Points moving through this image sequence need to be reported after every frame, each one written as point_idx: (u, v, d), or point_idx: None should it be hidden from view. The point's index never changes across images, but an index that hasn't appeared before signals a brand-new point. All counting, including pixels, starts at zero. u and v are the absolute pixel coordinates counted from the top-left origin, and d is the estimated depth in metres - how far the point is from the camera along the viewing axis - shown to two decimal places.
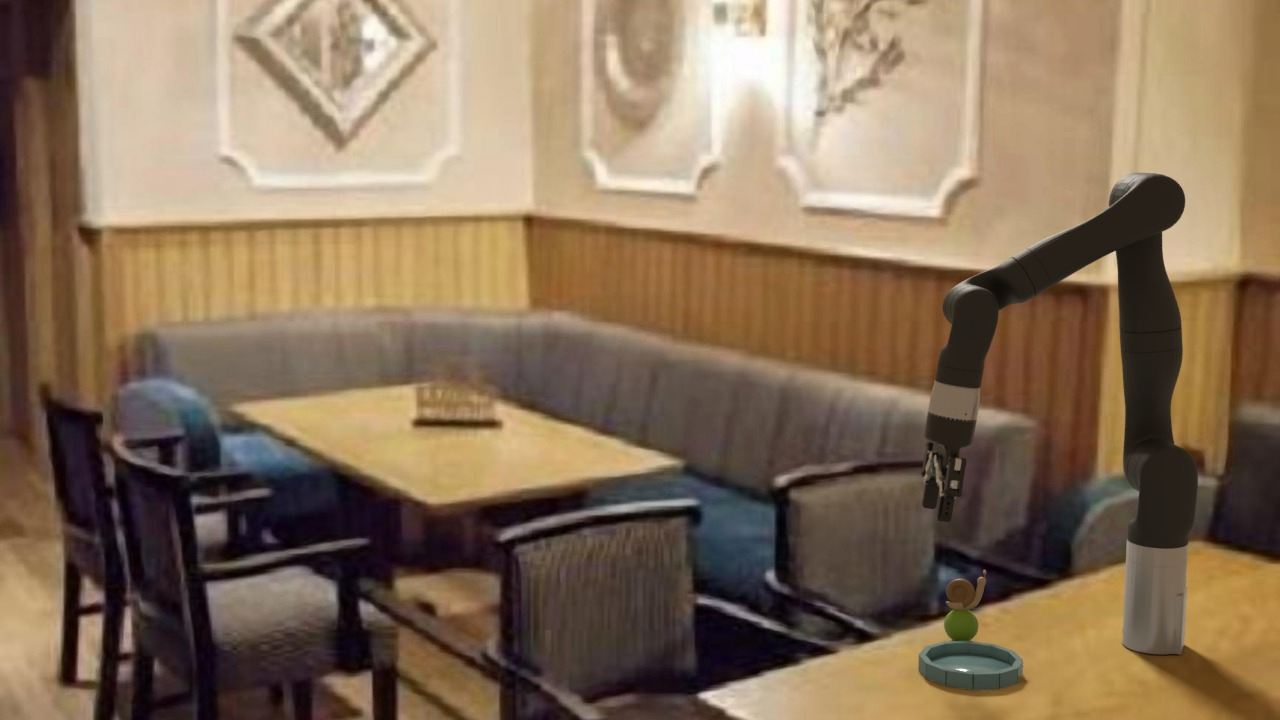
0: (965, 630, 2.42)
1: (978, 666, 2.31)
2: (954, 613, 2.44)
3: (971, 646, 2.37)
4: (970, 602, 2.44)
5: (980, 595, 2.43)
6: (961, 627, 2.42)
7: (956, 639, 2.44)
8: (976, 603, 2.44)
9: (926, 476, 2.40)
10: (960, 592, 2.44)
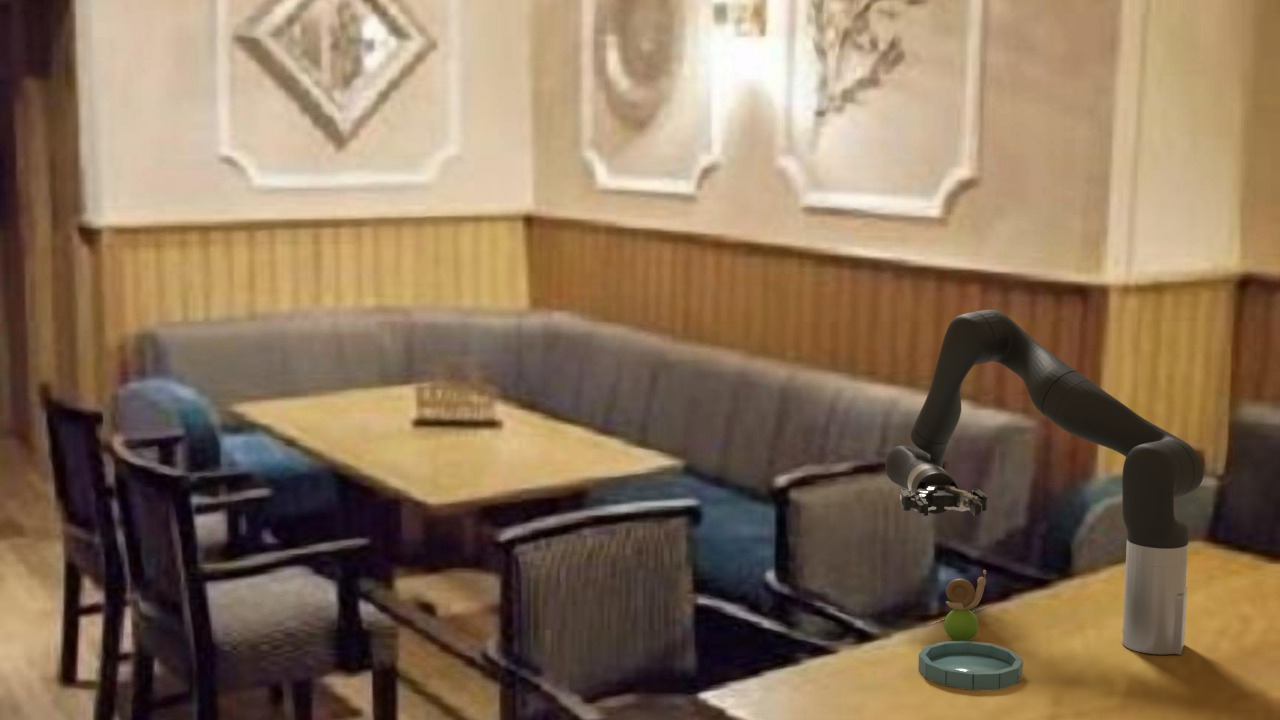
0: (965, 630, 2.42)
1: (978, 666, 2.31)
2: (954, 613, 2.44)
3: (971, 646, 2.37)
4: (970, 602, 2.44)
5: (980, 595, 2.43)
6: (961, 627, 2.42)
7: (956, 639, 2.44)
8: (976, 603, 2.44)
9: (969, 509, 2.59)
10: (960, 592, 2.44)
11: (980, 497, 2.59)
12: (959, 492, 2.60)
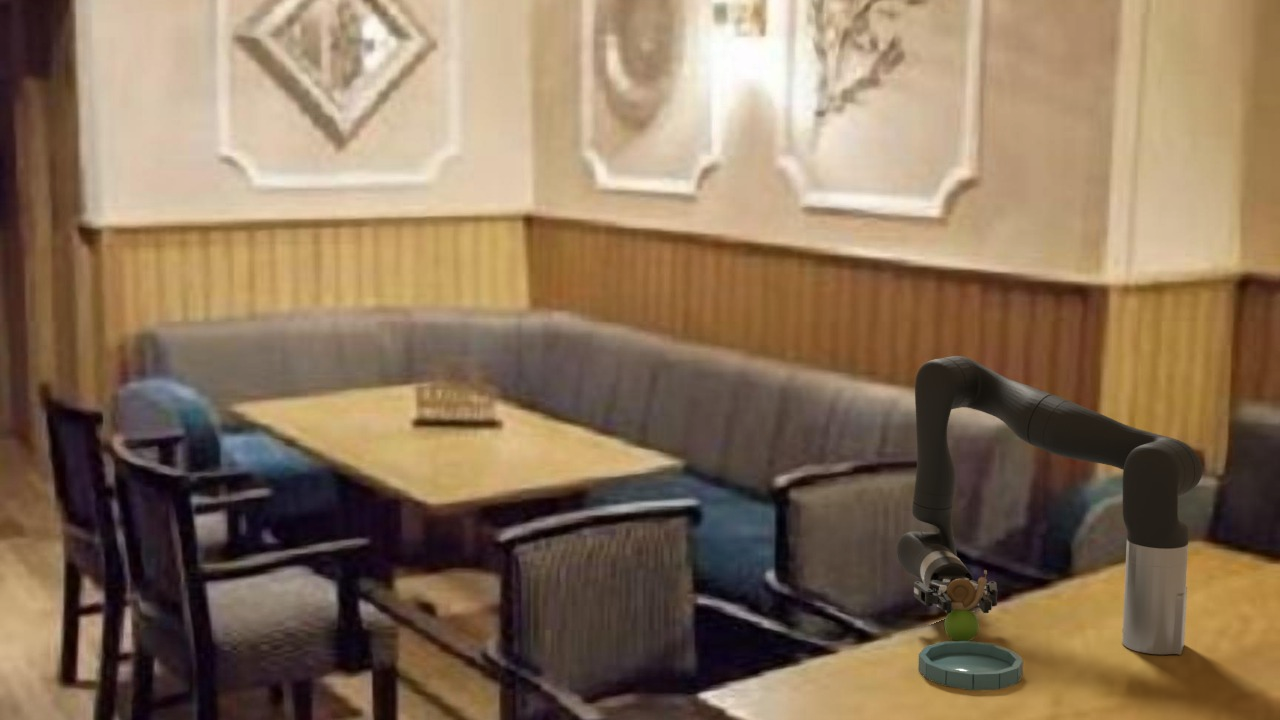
0: (965, 630, 2.42)
1: (978, 666, 2.31)
2: (954, 613, 2.44)
3: (971, 646, 2.37)
4: (971, 602, 2.44)
5: (981, 595, 2.43)
6: (962, 627, 2.42)
7: (956, 639, 2.44)
8: (976, 603, 2.44)
9: (979, 604, 2.47)
10: (961, 592, 2.44)
11: (990, 591, 2.47)
12: None
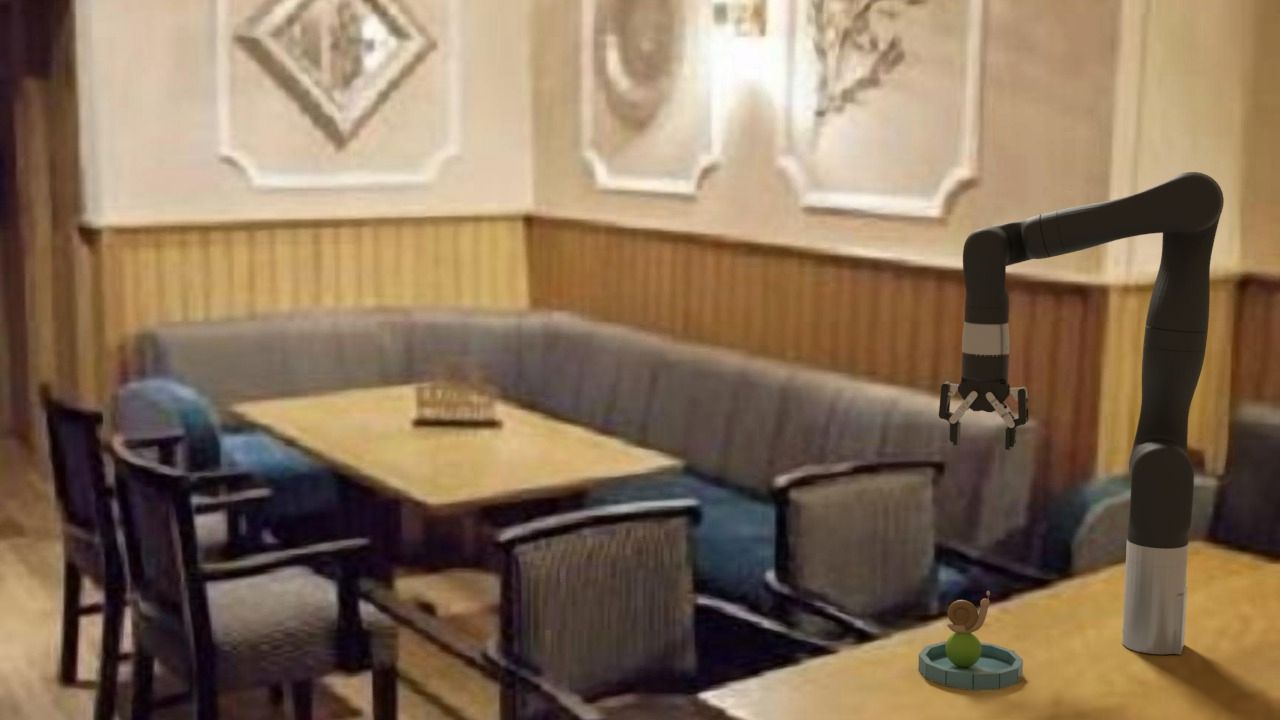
0: (967, 655, 2.28)
1: (978, 666, 2.31)
2: (956, 636, 2.30)
3: None
4: (973, 625, 2.29)
5: (983, 618, 2.29)
6: (963, 652, 2.28)
7: (958, 664, 2.30)
8: (979, 626, 2.29)
9: None
10: (962, 614, 2.30)
11: (1019, 421, 2.46)
12: (997, 412, 2.47)
